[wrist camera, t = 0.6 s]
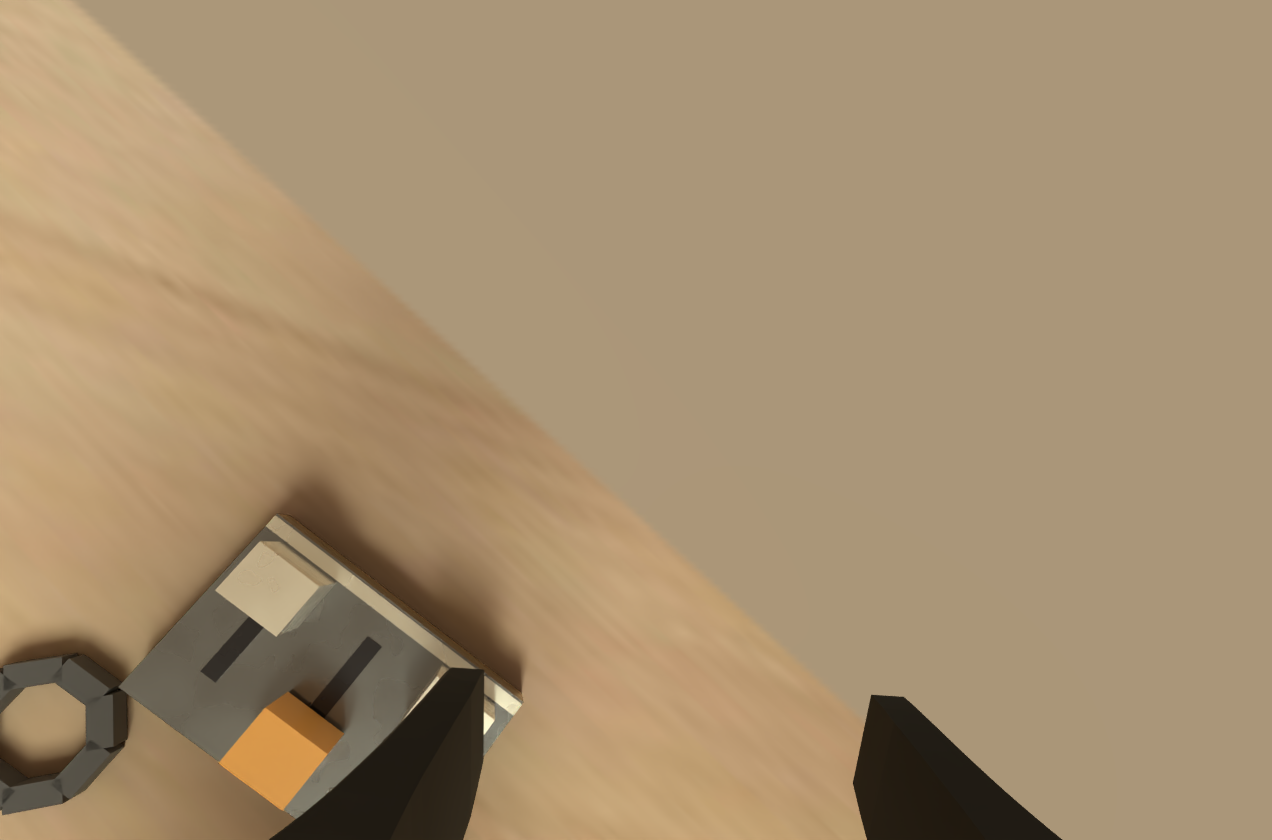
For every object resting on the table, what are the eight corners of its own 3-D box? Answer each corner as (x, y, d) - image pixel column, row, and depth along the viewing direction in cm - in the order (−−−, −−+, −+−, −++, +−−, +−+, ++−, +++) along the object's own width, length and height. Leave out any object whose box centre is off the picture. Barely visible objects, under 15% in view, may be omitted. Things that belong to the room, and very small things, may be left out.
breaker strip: (394, 865, 31) (376, 925, 26) (142, 677, 30) (75, 703, 25) (521, 693, 33) (526, 718, 28) (290, 515, 32) (254, 509, 28)
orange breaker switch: (304, 784, 29) (282, 810, 26) (246, 741, 28) (217, 763, 26) (344, 733, 29) (327, 754, 26) (287, 691, 29) (265, 707, 26)
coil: (49, 830, 28) (32, 841, 27) (-66, 746, 28) (-87, 754, 27) (157, 709, 30) (145, 714, 29) (49, 628, 30) (33, 631, 29)
